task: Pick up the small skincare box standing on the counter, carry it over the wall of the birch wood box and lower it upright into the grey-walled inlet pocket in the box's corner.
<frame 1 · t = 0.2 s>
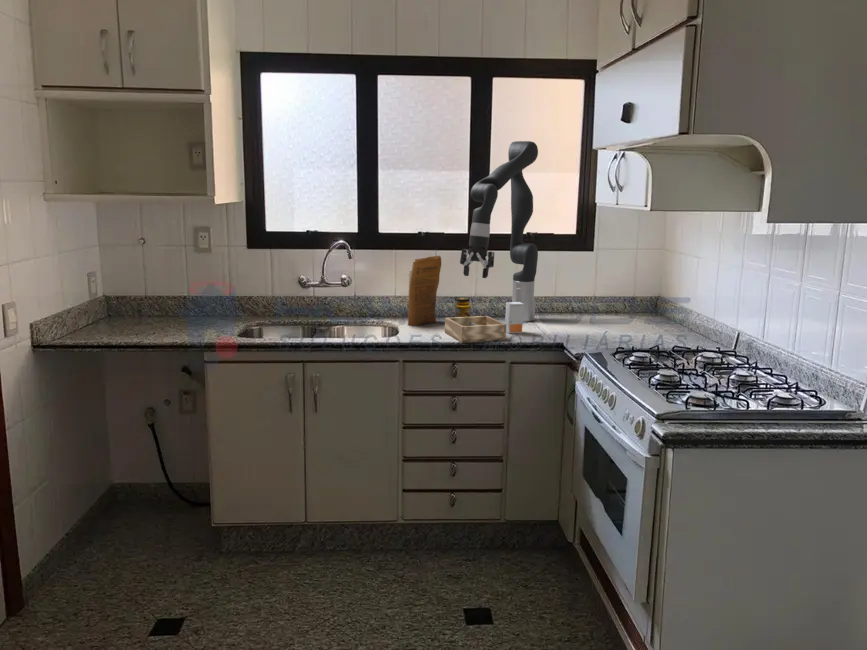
hand: (475, 276, 283), 22 cm above the countertop, tool pointing down, fingers open, 8 cm apart
pancake mix bag: (423, 323, 303), on the countertop
skincare box: (513, 333, 288), on the countertop
condiment: (460, 327, 297), on the countertop
box: (474, 336, 280), on the countertop
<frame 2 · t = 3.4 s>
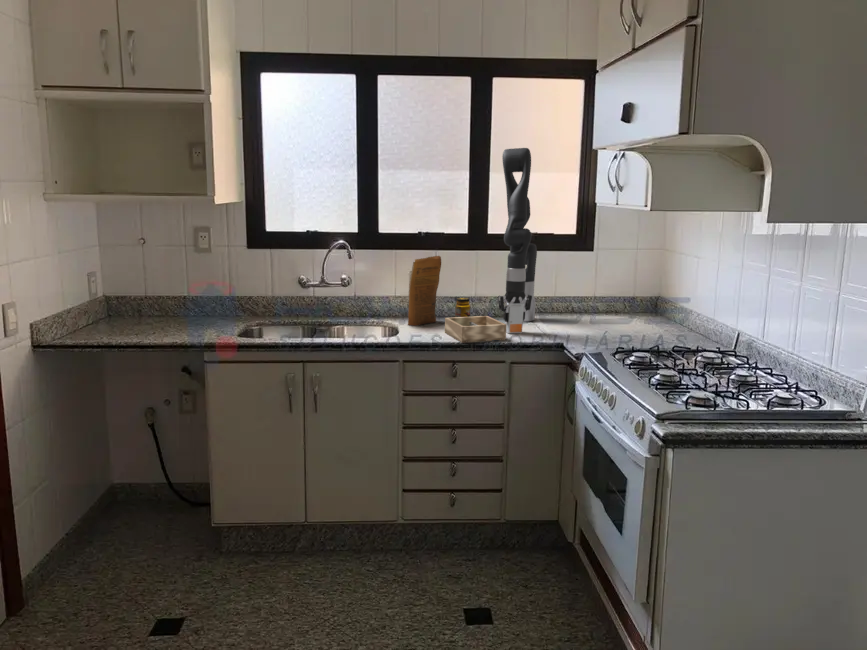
hand: (514, 321, 287), 5 cm above the countertop, tool pointing down, fingers closed on skincare box, 6 cm apart
skincare box: (513, 332, 288), on the countertop, touching gripper
everything else where it was.
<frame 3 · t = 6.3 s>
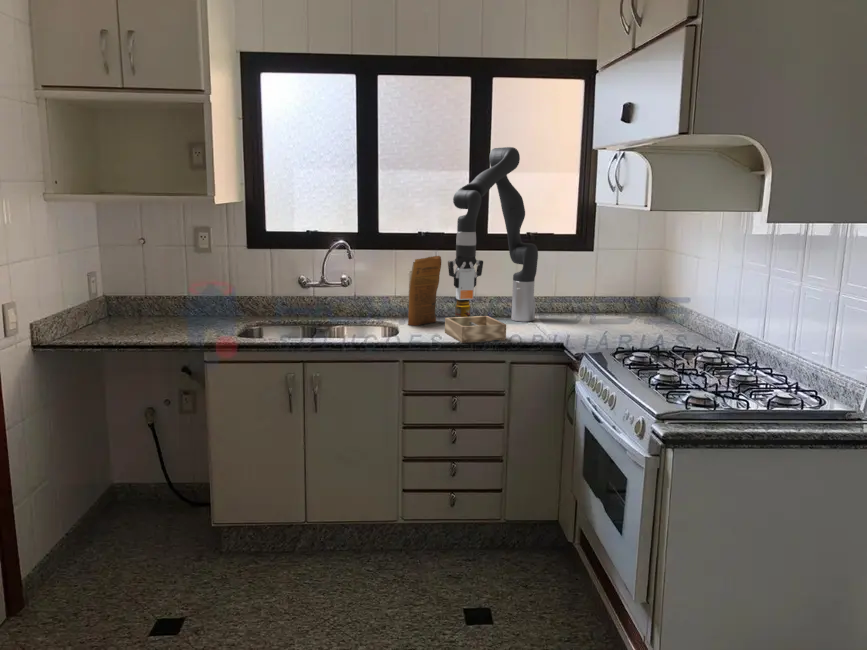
hand: (464, 287, 278), 19 cm above the countertop, tool pointing down, fingers closed on skincare box, 6 cm apart
skincare box: (464, 299, 279), point 14 cm above the countertop, touching gripper
everything else where it was.
when the fingers open (6 cm above the countertop, at t = 9.4 s): skincare box stays where it is, resting on box.
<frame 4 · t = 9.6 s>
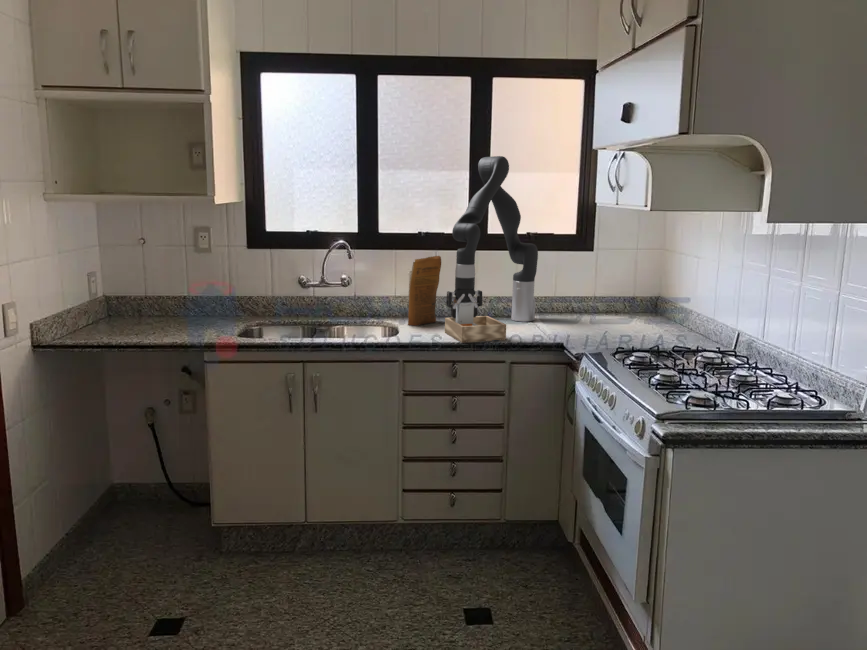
hand: (463, 317, 280), 7 cm above the countertop, tool pointing down, fingers open, 8 cm apart
skincare box: (464, 332, 281), point 1 cm above the countertop, touching box
everything else where it was.
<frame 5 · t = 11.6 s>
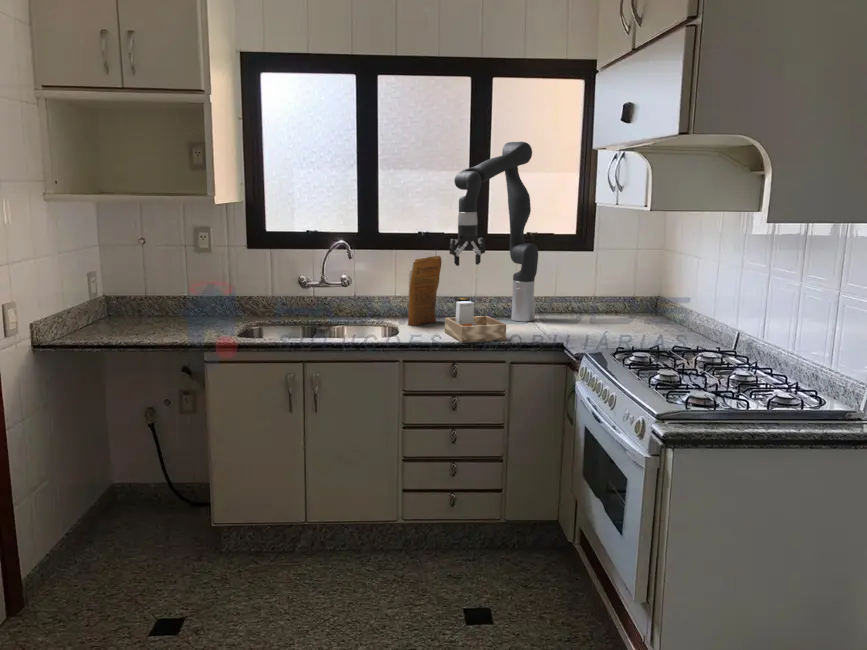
hand: (467, 265, 285), 26 cm above the countertop, tool pointing down, fingers open, 8 cm apart
nothing on the countertop moved.
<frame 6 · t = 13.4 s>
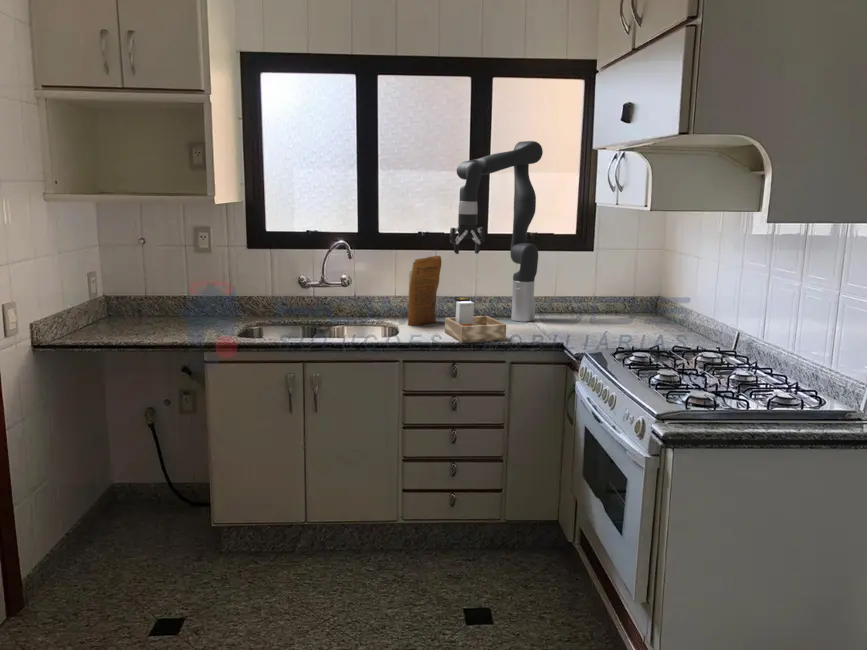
hand: (466, 253, 291), 30 cm above the countertop, tool pointing down, fingers open, 8 cm apart
nothing on the countertop moved.
at the end: skincare box inside the target area on the box (0.3 cm from its centre), point 0.9 cm above the box's base; skincare box tilted 0°; the gripper is holding nothing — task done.
